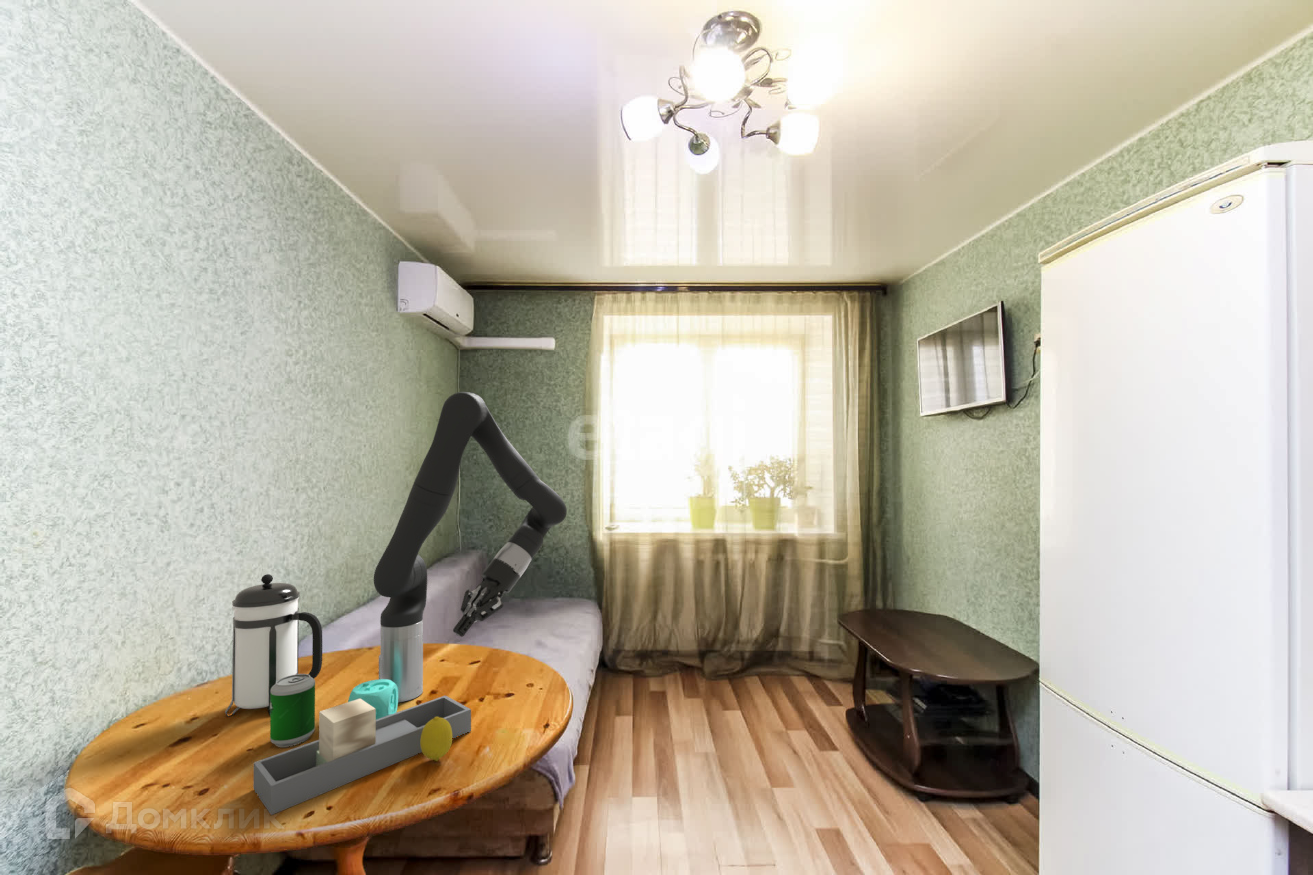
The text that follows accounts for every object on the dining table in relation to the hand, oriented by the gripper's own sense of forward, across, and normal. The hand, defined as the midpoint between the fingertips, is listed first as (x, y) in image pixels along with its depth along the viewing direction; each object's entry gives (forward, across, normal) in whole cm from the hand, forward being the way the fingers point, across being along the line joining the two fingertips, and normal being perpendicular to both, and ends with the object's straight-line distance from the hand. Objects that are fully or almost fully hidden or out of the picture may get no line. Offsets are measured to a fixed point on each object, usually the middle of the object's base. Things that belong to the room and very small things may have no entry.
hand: (457, 633), depth 118 cm
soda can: (+31, -20, -4) cm, 37 cm away
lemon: (+20, +11, +6) cm, 24 cm away
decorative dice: (+22, -14, +5) cm, 26 cm away
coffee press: (+30, -42, -2) cm, 52 cm away
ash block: (+26, +1, -4) cm, 27 cm away
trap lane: (+26, 0, +1) cm, 26 cm away
